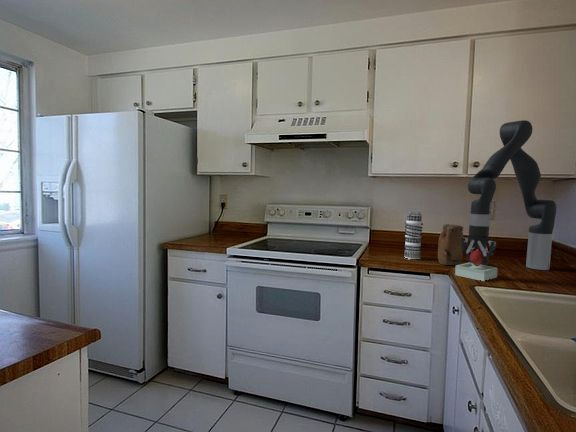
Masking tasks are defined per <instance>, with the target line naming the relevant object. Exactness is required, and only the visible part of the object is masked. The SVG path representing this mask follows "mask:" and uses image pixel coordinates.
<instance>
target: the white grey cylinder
mask: <svg viewBox="0 0 576 432" xmlns="http://www.w3.org/2000/svg"><path fill="white" fill-rule="evenodd" d="M422 217H423V215H422V214H421V212H419V211H409V212H408V213H407V214H406V219H405V220H406V222H404V228H405V229H404V237H405V242H404V243H405V245H404V251H403V252H404V254H403V257H405V258H408V259H407V260H410V259H420V260H421V256H422V255H421V254H422V252H421V251H422V245H421V238H422V236H423V233H422V232H423V225H424V223H423V222H422V221H423V220H422V219H423V218H422ZM405 258H404V259H405Z"/></svg>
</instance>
